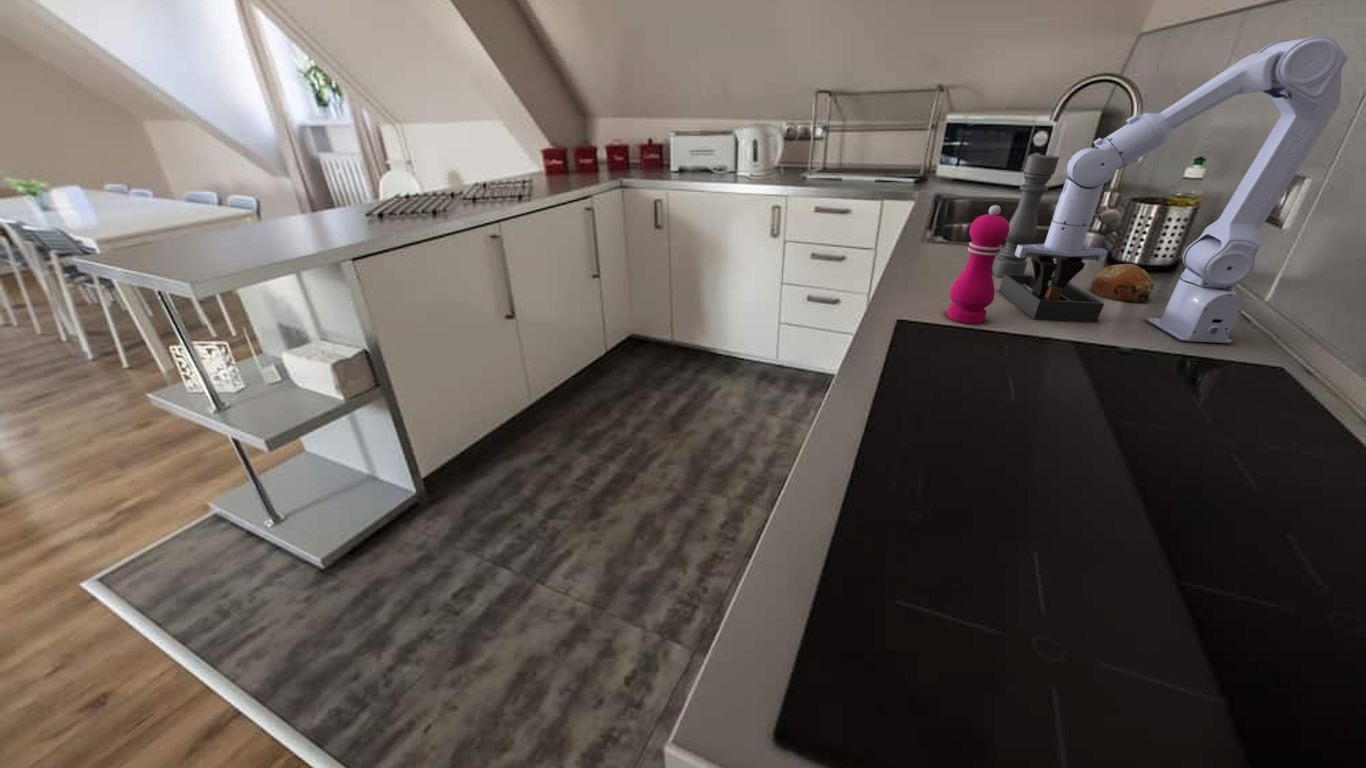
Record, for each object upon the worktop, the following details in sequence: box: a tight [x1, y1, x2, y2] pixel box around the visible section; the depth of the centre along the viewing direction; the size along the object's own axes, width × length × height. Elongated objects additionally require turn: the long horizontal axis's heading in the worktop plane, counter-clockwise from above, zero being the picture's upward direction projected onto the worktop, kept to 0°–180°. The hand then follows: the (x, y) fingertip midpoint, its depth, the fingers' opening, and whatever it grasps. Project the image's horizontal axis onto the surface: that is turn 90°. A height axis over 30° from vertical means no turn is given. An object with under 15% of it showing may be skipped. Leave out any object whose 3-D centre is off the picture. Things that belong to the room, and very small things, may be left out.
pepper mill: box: [946, 204, 1010, 325], centre depth 97 cm, size 7×7×20 cm
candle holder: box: [992, 154, 1060, 279], centre depth 120 cm, size 6×6×25 cm
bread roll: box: [1090, 263, 1154, 303], centre depth 114 cm, size 10×10×8 cm
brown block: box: [1022, 280, 1063, 300], centre depth 107 cm, size 13×2×4 cm, turn 174°
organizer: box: [998, 274, 1105, 323], centre depth 108 cm, size 16×11×4 cm
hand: (1045, 296), depth 104 cm, fingers closed on brown block, 2 cm apart
